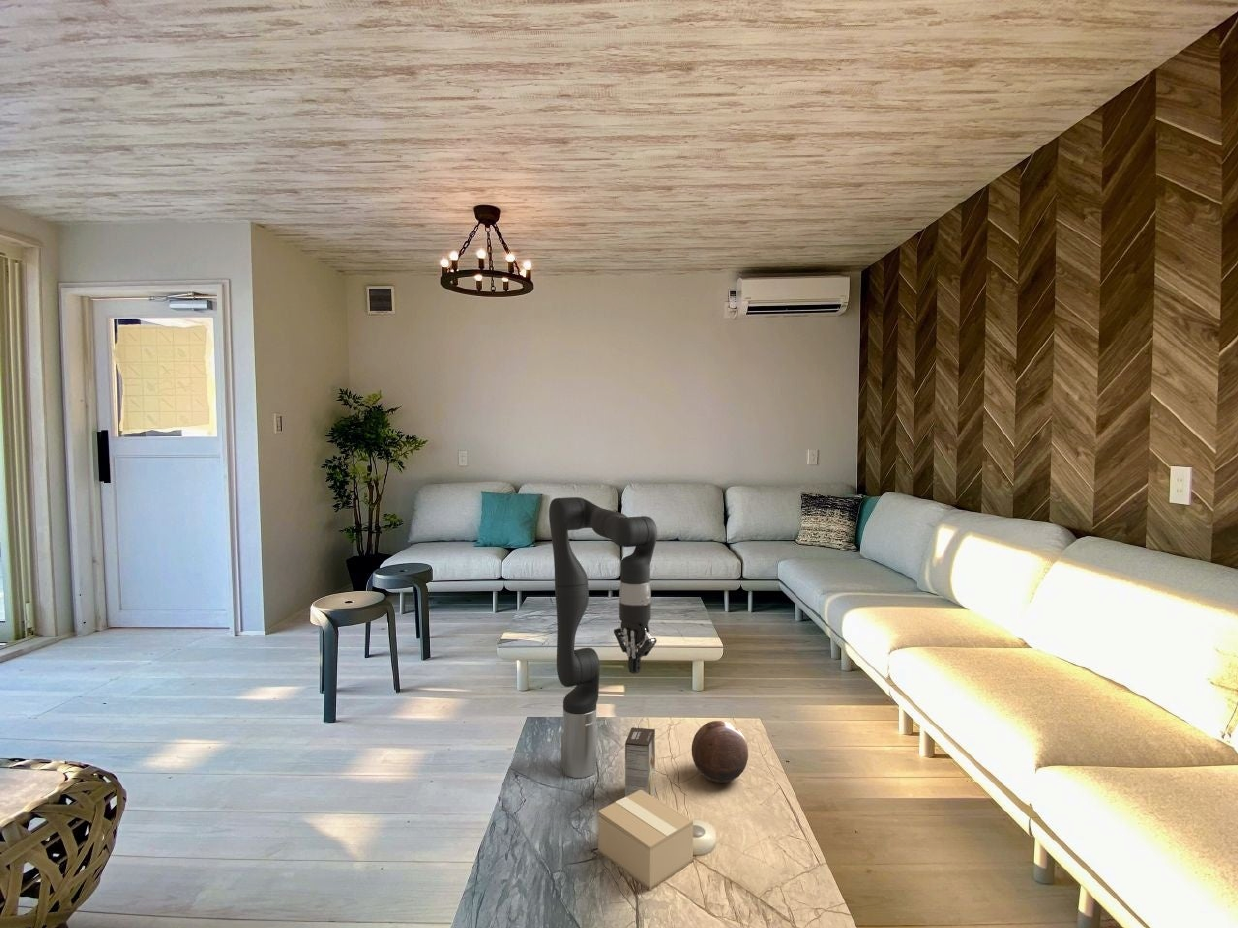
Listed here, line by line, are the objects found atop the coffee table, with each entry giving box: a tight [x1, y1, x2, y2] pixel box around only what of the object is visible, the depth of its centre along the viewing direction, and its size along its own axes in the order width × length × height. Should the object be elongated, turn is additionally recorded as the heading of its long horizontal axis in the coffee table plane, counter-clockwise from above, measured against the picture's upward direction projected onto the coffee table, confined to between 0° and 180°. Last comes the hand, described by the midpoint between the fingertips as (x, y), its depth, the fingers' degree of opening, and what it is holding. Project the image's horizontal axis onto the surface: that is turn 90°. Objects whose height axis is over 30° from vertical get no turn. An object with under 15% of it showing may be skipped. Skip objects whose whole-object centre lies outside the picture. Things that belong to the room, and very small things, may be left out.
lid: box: [597, 790, 693, 851], centre depth 132 cm, size 16×13×1 cm
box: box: [597, 815, 694, 891], centre depth 132 cm, size 16×13×8 cm
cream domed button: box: [691, 819, 717, 856], centre depth 137 cm, size 9×9×2 cm
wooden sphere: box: [691, 720, 749, 784], centre depth 164 cm, size 15×15×15 cm
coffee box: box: [624, 727, 656, 797], centre depth 154 cm, size 9×6×16 cm
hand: (634, 672), depth 145 cm, fingers closed
